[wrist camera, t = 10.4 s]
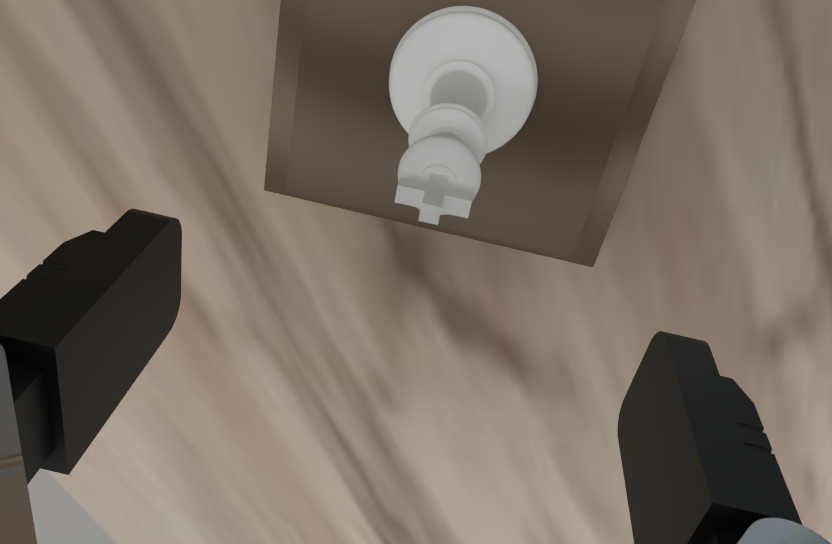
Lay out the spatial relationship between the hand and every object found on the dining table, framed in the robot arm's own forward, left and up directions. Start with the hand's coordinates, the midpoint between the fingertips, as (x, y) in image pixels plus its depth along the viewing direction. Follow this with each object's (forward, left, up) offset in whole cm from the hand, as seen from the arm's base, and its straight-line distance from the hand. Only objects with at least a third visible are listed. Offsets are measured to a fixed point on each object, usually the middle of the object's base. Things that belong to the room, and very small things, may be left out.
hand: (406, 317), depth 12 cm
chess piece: (0, 0, -14) cm, 14 cm away
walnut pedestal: (0, 0, -20) cm, 20 cm away
